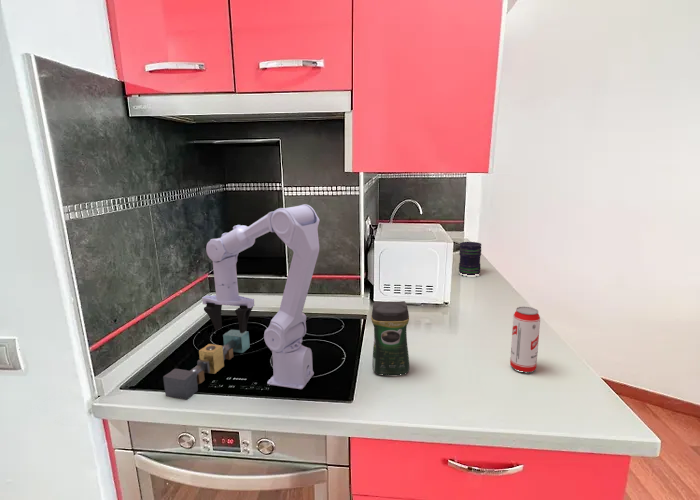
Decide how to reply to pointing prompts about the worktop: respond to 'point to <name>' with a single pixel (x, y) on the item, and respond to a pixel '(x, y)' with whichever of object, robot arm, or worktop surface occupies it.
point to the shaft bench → (202, 367)
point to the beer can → (525, 339)
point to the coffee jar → (390, 338)
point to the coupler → (213, 357)
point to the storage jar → (470, 258)
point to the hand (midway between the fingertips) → (230, 330)
